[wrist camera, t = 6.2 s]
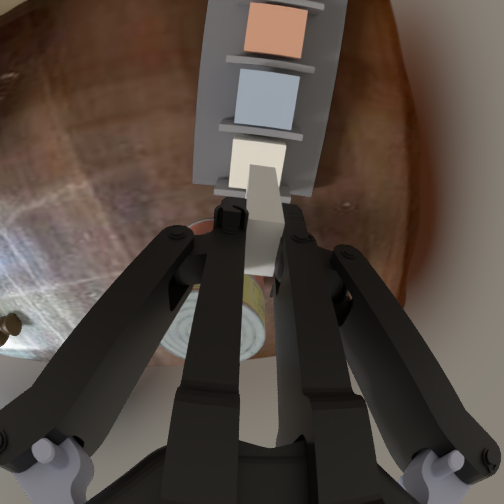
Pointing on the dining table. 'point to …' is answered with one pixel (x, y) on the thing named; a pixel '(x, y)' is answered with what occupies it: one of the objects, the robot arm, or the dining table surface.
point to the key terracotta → (275, 30)
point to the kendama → (9, 327)
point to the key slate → (266, 99)
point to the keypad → (234, 58)
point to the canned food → (251, 312)
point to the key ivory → (254, 156)
